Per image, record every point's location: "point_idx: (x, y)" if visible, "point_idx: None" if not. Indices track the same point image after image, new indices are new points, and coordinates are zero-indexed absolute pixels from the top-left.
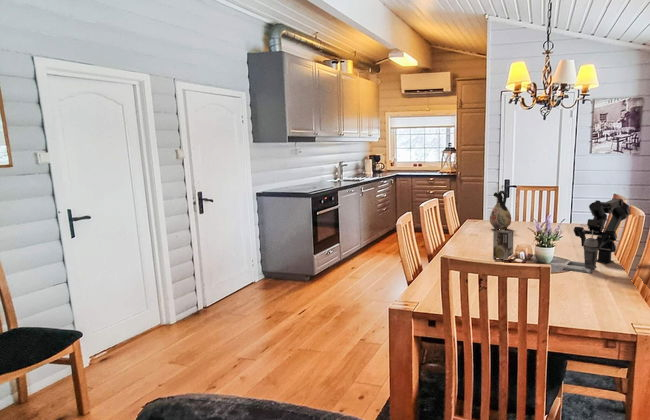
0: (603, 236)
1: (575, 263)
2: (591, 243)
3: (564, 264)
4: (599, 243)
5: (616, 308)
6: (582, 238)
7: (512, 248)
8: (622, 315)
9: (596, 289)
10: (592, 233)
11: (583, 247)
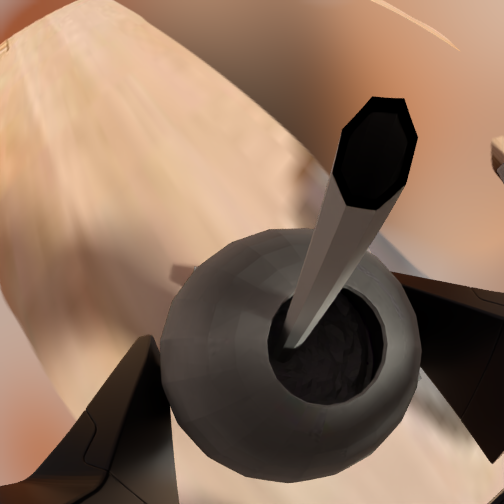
0: (36, 496)
1: None
2: (227, 248)
3: (368, 251)
4: (133, 374)
5: (23, 63)
6: (472, 299)
7: None
8: (16, 55)
9: (74, 104)
10: (327, 211)
11: (350, 294)
